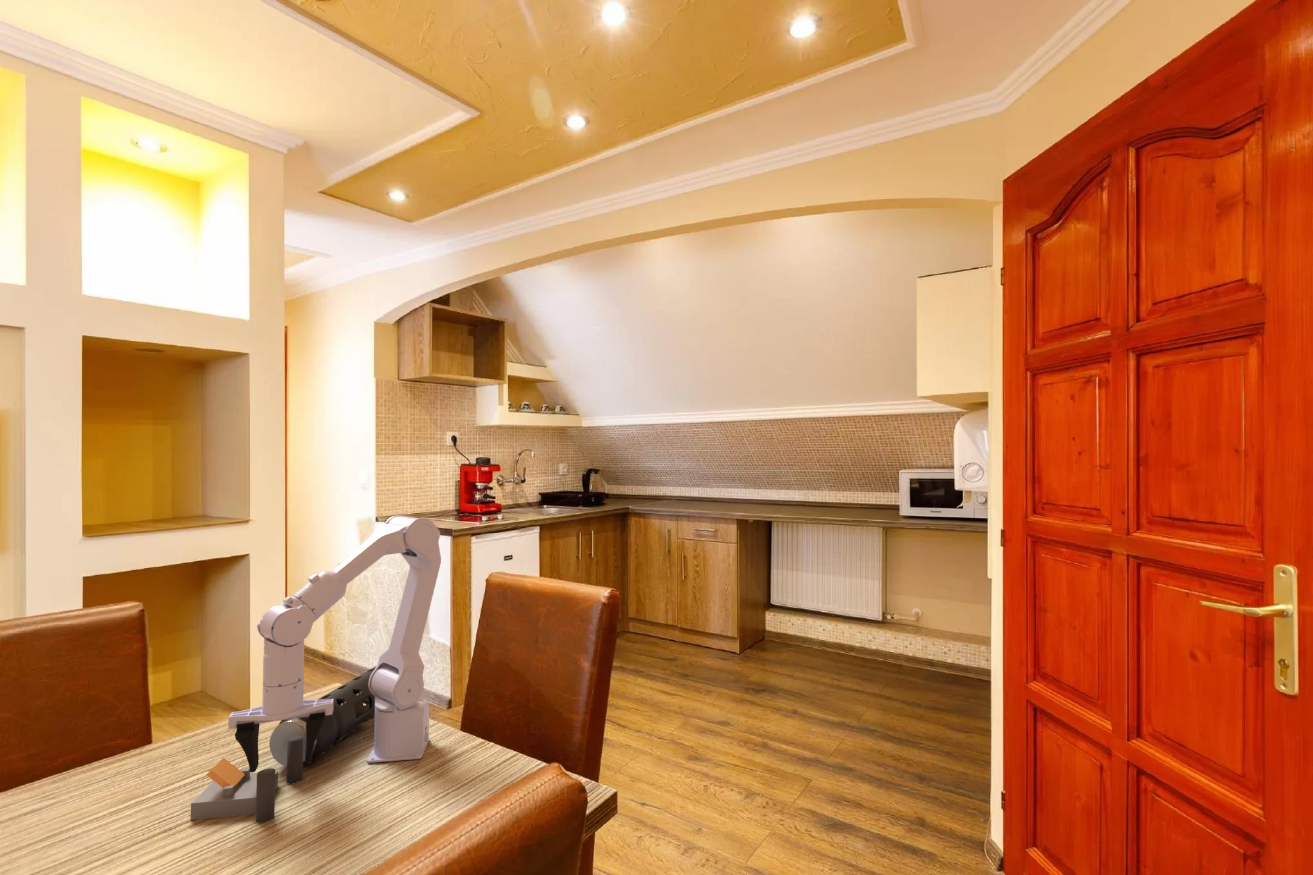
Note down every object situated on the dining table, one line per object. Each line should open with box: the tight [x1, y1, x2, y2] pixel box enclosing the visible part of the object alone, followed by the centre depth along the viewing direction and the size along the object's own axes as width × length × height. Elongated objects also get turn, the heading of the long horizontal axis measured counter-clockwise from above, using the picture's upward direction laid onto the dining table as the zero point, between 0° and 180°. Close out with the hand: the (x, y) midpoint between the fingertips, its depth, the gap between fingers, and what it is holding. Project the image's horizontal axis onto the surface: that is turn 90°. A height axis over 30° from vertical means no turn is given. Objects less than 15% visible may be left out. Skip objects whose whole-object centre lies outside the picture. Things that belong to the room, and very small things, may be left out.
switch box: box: [190, 767, 279, 821], centre depth 97 cm, size 9×8×4 cm
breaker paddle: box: [205, 757, 245, 788], centre depth 96 cm, size 1×4×4 cm
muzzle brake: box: [269, 665, 377, 768], centre depth 120 cm, size 10×28×10 cm
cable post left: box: [255, 767, 276, 824], centre depth 92 cm, size 2×2×7 cm
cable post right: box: [285, 736, 304, 785], centre depth 103 cm, size 2×2×7 cm
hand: (281, 764), depth 98 cm, fingers open, 7 cm apart
